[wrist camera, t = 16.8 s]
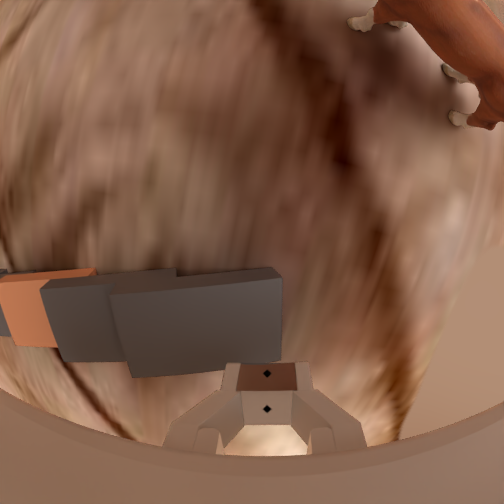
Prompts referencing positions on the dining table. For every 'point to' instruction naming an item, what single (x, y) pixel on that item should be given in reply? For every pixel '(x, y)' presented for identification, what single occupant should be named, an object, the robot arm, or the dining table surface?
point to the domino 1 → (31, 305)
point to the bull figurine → (454, 46)
